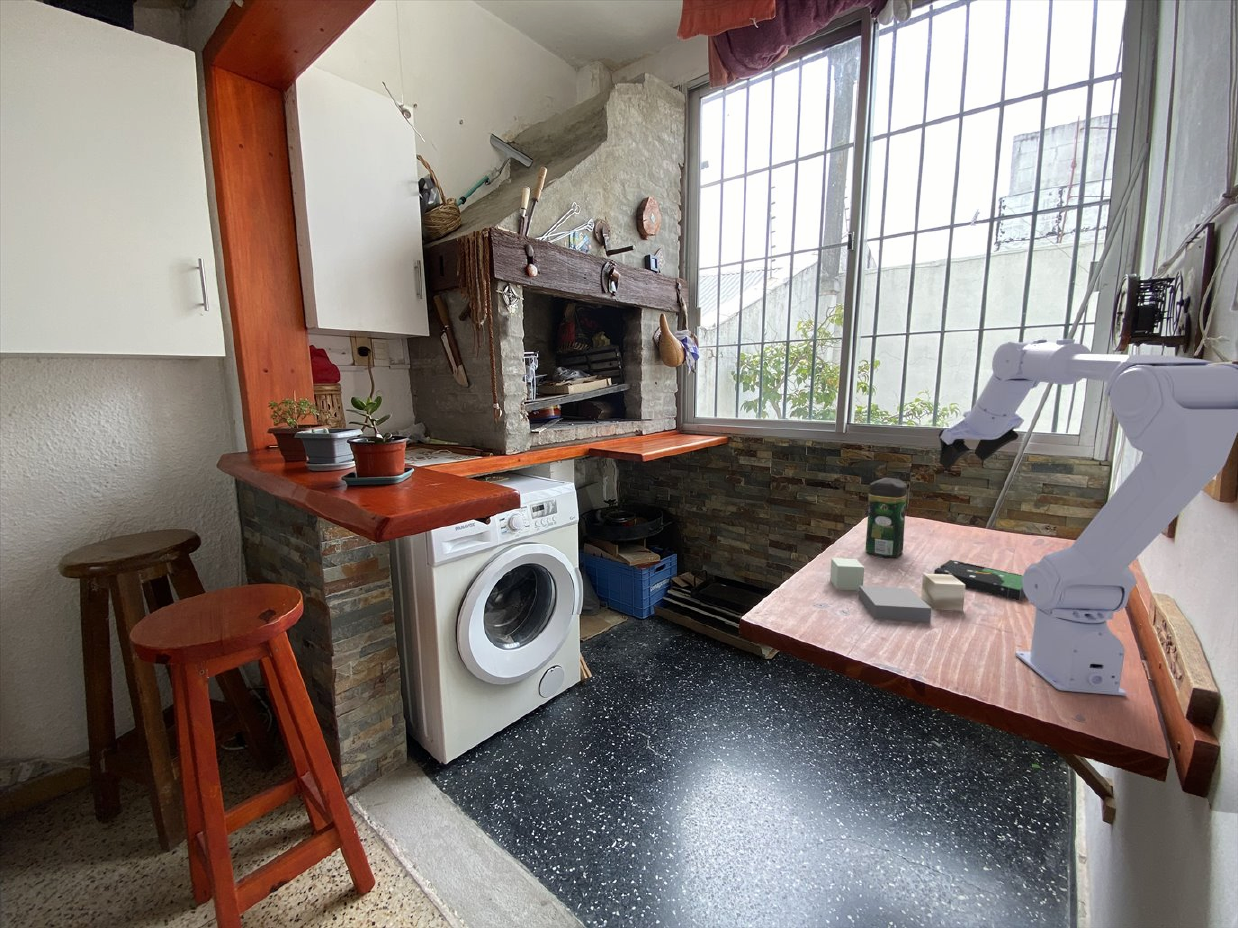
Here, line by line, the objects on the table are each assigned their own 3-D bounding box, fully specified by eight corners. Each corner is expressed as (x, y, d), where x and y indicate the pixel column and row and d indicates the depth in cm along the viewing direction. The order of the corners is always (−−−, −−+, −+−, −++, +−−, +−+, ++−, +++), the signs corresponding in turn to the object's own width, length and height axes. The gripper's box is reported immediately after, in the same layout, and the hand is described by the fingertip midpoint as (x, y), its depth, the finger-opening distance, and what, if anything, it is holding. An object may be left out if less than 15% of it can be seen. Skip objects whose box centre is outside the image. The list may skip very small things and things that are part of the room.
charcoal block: (930, 624, 84) (931, 608, 84) (874, 621, 86) (875, 605, 85) (908, 603, 93) (909, 588, 93) (858, 600, 95) (859, 585, 94)
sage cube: (862, 591, 98) (864, 567, 97) (836, 589, 99) (837, 566, 98) (855, 581, 103) (856, 558, 102) (830, 580, 104) (831, 557, 103)
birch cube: (963, 610, 89) (965, 584, 88) (933, 609, 90) (935, 583, 89) (949, 599, 94) (951, 574, 93) (921, 598, 95) (923, 573, 94)
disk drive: (932, 582, 104) (1021, 603, 92) (933, 569, 103) (1022, 589, 92) (948, 570, 110) (1033, 589, 99) (949, 558, 110) (1034, 576, 99)
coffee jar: (871, 544, 128) (876, 474, 125) (905, 550, 123) (911, 477, 120) (860, 553, 121) (865, 479, 118) (896, 560, 116) (902, 483, 113)
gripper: (1015, 384, 87) (980, 439, 97) (942, 400, 86) (914, 454, 95) (1048, 408, 82) (1007, 463, 92) (971, 425, 81) (939, 480, 90)
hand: (962, 461), depth 93 cm, fingers open, 7 cm apart
